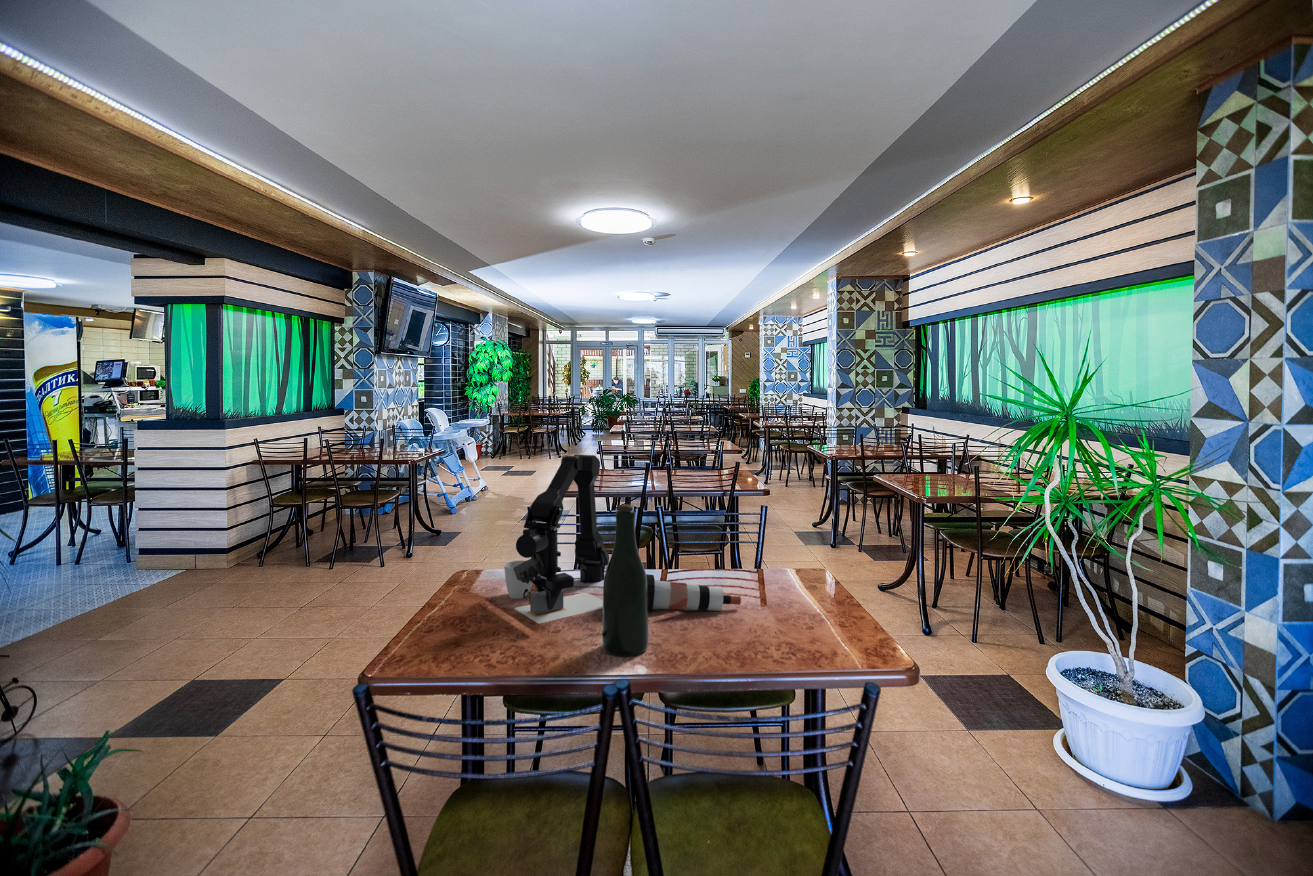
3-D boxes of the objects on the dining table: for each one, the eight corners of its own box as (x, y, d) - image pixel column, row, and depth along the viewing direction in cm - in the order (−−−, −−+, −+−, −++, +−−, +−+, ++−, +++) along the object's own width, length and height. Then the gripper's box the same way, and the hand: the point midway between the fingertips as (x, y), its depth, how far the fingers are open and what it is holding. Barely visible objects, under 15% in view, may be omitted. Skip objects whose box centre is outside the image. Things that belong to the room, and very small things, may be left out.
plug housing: (557, 604, 174) (556, 588, 173) (563, 608, 171) (563, 591, 170) (530, 610, 169) (530, 593, 168) (536, 614, 166) (536, 597, 166)
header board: (585, 596, 185) (585, 583, 185) (613, 609, 174) (613, 596, 174) (513, 612, 172) (513, 598, 172) (538, 628, 161) (538, 613, 160)
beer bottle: (623, 636, 156) (623, 499, 153) (657, 647, 149) (658, 504, 147) (592, 649, 148) (592, 505, 145) (627, 662, 141) (627, 511, 139)
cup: (528, 604, 178) (528, 568, 177) (500, 603, 179) (499, 567, 178) (538, 595, 186) (538, 561, 185) (511, 594, 187) (510, 559, 186)
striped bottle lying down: (738, 628, 173) (747, 600, 168) (611, 620, 169) (615, 591, 164) (732, 600, 182) (740, 573, 177) (611, 591, 178) (615, 563, 172)
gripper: (501, 545, 171) (502, 604, 172) (534, 561, 156) (535, 624, 157) (540, 539, 178) (540, 595, 179) (575, 553, 163) (575, 614, 164)
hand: (547, 607), depth 170 cm, fingers closed on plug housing, 3 cm apart
